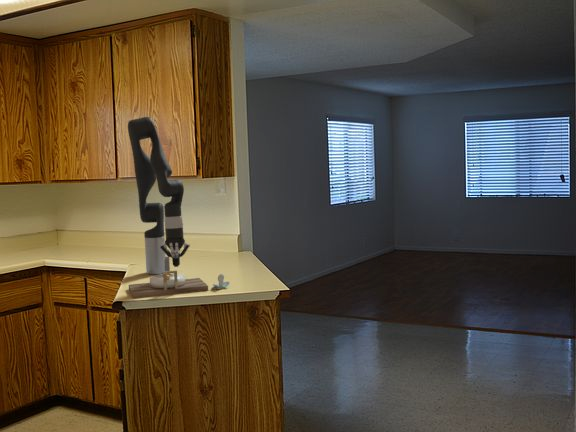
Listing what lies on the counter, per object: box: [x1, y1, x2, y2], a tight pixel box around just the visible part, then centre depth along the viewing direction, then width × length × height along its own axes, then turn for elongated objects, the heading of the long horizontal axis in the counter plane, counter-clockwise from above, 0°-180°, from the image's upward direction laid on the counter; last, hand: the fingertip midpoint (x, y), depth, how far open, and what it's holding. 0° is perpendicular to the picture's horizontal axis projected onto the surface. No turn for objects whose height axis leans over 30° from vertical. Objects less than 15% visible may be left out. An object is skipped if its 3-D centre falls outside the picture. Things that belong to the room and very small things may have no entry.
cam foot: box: [149, 256, 186, 288], centre depth 274 cm, size 23×14×9 cm, turn 9°
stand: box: [128, 270, 209, 299], centre depth 270 cm, size 18×30×9 cm, turn 109°
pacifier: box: [211, 273, 230, 290], centre depth 271 cm, size 7×6×6 cm
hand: (176, 266), depth 282 cm, fingers closed
